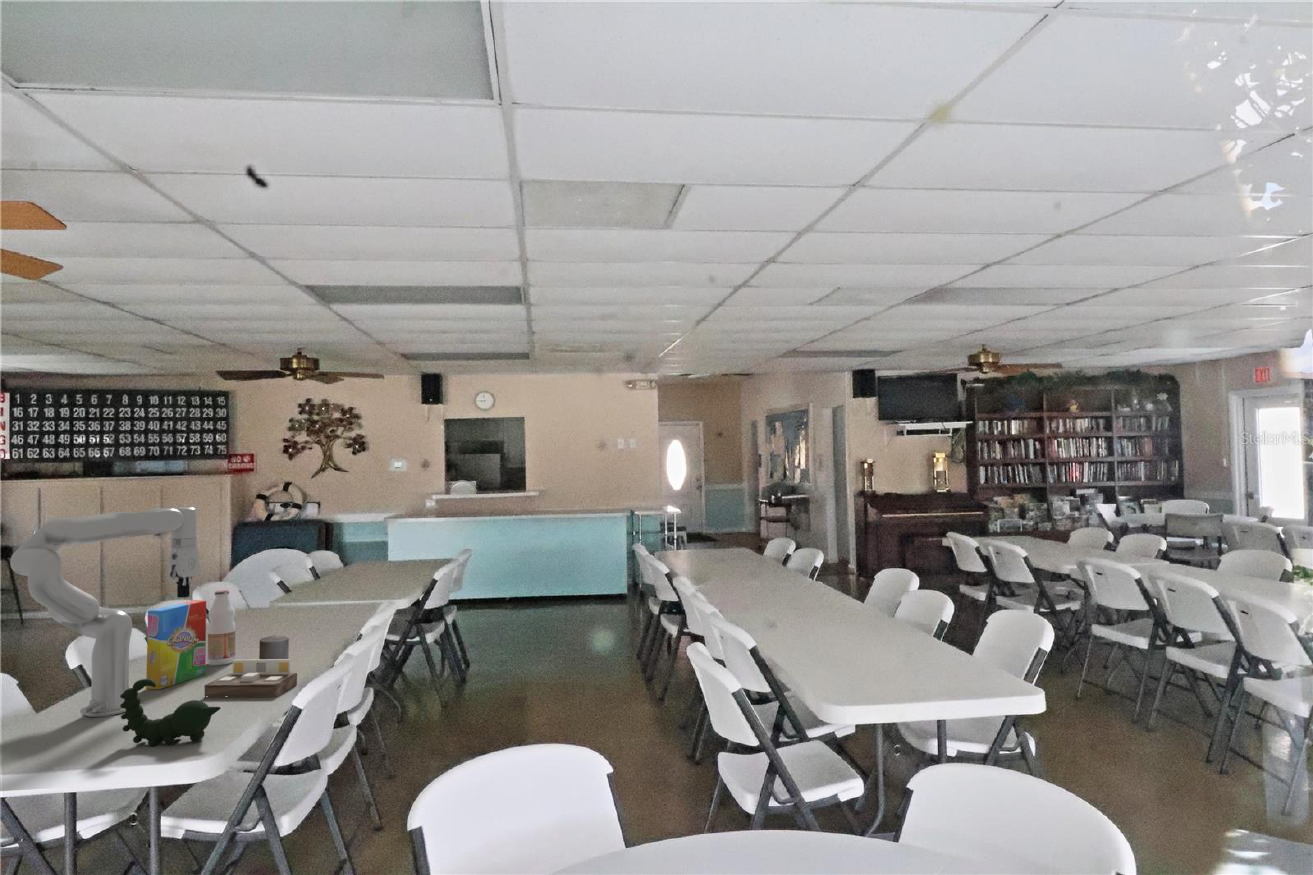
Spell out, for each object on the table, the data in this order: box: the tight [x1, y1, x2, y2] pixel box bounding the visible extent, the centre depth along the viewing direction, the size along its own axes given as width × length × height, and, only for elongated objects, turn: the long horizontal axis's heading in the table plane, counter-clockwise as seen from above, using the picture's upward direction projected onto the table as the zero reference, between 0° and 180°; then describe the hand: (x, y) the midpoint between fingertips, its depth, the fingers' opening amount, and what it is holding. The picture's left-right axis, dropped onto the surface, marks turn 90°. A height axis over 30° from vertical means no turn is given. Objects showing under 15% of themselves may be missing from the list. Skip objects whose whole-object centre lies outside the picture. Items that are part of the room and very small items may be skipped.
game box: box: [145, 599, 207, 690], centre depth 269 cm, size 21×6×27 cm, turn 168°
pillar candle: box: [258, 635, 290, 659], centre depth 274 cm, size 10×10×15 cm
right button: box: [265, 676, 283, 682], centre depth 255 cm, size 4×4×2 cm
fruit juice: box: [207, 589, 237, 666], centre depth 294 cm, size 9×9×28 cm
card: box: [232, 658, 291, 675], centre depth 262 cm, size 1×20×5 cm, turn 89°
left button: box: [218, 677, 236, 682], centre depth 255 cm, size 4×4×2 cm
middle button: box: [241, 673, 259, 682], centre depth 255 cm, size 4×4×2 cm
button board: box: [204, 672, 298, 698], centre depth 256 cm, size 14×24×4 cm, turn 89°
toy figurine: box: [120, 678, 221, 747], centre depth 209 cm, size 9×19×25 cm
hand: (183, 596), depth 257 cm, fingers closed
